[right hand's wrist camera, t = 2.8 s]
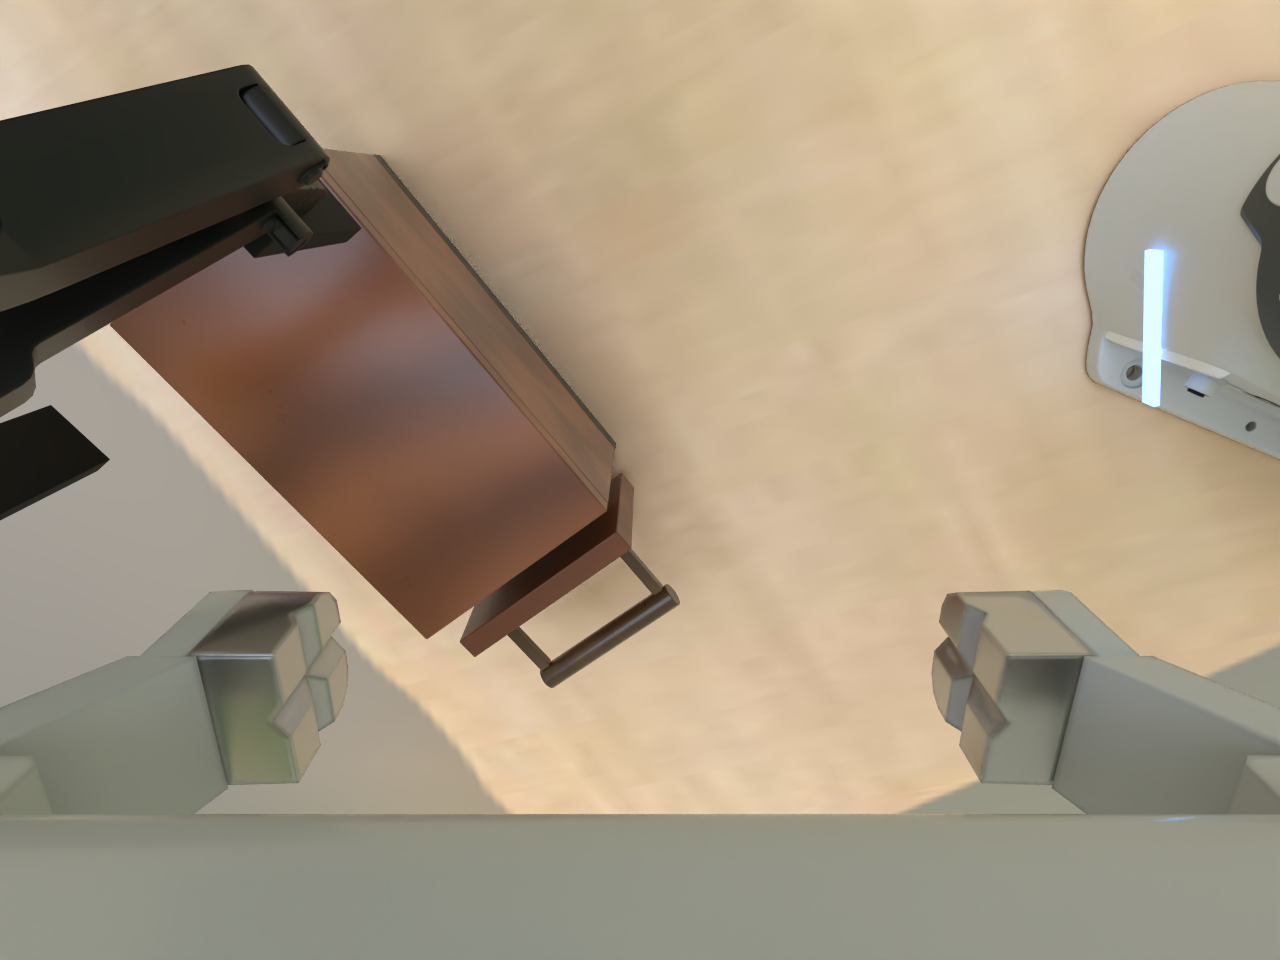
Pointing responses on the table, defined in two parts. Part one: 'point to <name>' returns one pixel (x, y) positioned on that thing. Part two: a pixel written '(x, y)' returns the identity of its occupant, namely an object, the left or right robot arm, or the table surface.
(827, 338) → the table surface
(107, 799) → the right robot arm
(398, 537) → the cabinet
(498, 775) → the table surface
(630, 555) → the drawer
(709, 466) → the table surface
